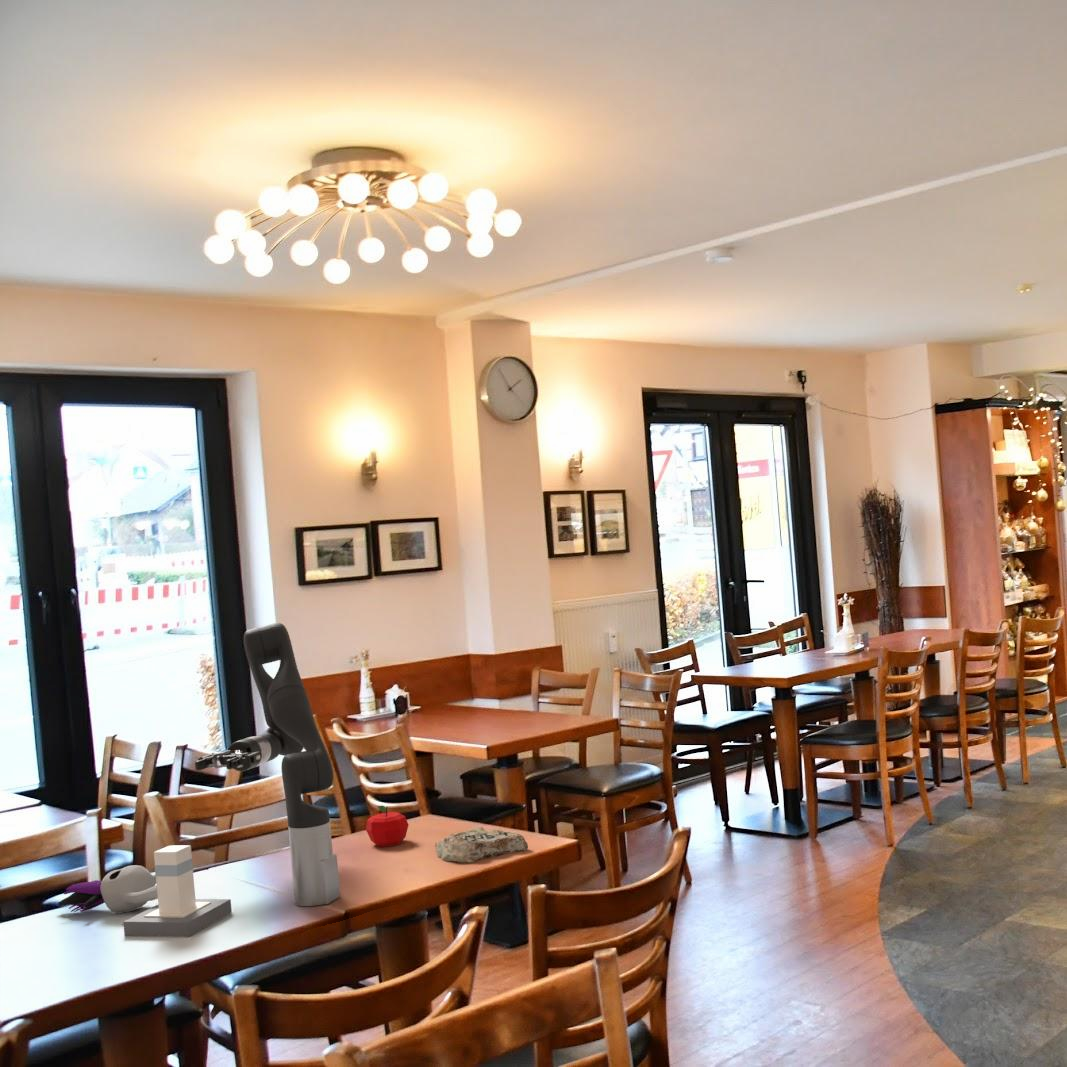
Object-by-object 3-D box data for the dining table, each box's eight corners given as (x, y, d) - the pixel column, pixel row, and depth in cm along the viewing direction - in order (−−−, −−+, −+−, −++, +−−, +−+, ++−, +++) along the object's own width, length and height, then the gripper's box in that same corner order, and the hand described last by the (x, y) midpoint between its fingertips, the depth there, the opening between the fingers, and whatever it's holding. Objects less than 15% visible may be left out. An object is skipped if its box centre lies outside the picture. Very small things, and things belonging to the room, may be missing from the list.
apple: (417, 840, 317) (413, 803, 317) (385, 850, 309) (382, 811, 310) (391, 837, 324) (388, 800, 325) (360, 846, 317) (356, 808, 317)
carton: (196, 904, 261) (191, 845, 261) (180, 912, 256) (175, 852, 256) (174, 904, 263) (169, 845, 263) (158, 912, 258) (153, 852, 258)
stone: (461, 846, 285) (411, 829, 306) (463, 870, 285) (413, 852, 306) (528, 830, 296) (475, 815, 317) (530, 854, 296) (477, 837, 317)
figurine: (73, 872, 285) (184, 845, 279) (85, 911, 286) (196, 885, 280) (33, 897, 270) (150, 869, 264) (46, 938, 270) (163, 912, 264)
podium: (231, 912, 264) (230, 897, 264) (188, 936, 249) (187, 921, 249) (170, 912, 269) (169, 897, 269) (124, 935, 254) (123, 920, 254)
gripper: (223, 739, 301) (185, 750, 285) (273, 736, 296) (236, 748, 281) (226, 769, 300) (187, 782, 285) (275, 767, 296) (239, 780, 281)
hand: (212, 765), depth 283 cm, fingers open, 8 cm apart
